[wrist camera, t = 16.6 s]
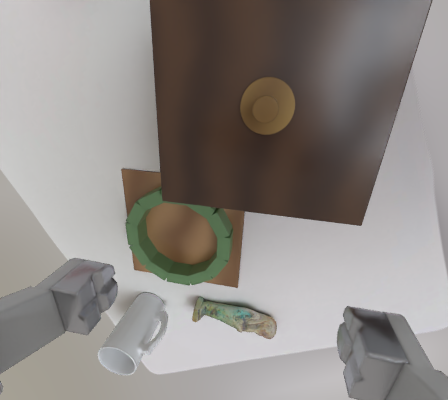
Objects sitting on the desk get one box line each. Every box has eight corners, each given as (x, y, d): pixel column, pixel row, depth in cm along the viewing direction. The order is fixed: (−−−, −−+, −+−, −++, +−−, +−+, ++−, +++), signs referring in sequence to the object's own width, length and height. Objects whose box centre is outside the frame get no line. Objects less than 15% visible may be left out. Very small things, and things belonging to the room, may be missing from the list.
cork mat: (247, 181, 36) (247, 182, 35) (237, 286, 44) (237, 287, 43) (122, 168, 39) (121, 169, 38) (135, 268, 47) (134, 269, 47)
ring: (236, 190, 36) (233, 198, 34) (229, 279, 43) (226, 292, 40) (130, 178, 39) (120, 185, 36) (140, 264, 46) (132, 275, 43)
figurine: (201, 285, 45) (196, 301, 42) (280, 313, 44) (280, 331, 41) (195, 305, 48) (189, 321, 44) (270, 332, 47) (269, 350, 43)
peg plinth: (365, 15, 26) (517, -116, 10) (328, 176, 33) (380, 254, 17) (202, 15, 29) (109, -87, 12) (201, 164, 36) (141, 220, 20)
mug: (143, 317, 52) (109, 375, 41) (130, 293, 50) (90, 348, 39) (185, 313, 49) (160, 374, 38) (172, 287, 47) (142, 345, 36)
